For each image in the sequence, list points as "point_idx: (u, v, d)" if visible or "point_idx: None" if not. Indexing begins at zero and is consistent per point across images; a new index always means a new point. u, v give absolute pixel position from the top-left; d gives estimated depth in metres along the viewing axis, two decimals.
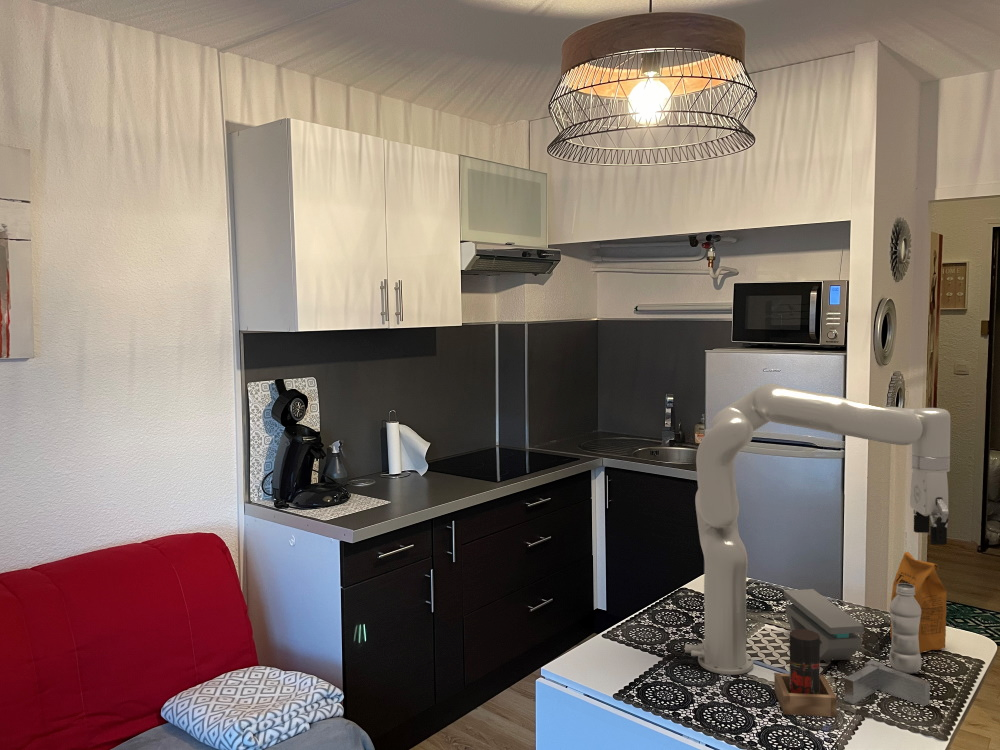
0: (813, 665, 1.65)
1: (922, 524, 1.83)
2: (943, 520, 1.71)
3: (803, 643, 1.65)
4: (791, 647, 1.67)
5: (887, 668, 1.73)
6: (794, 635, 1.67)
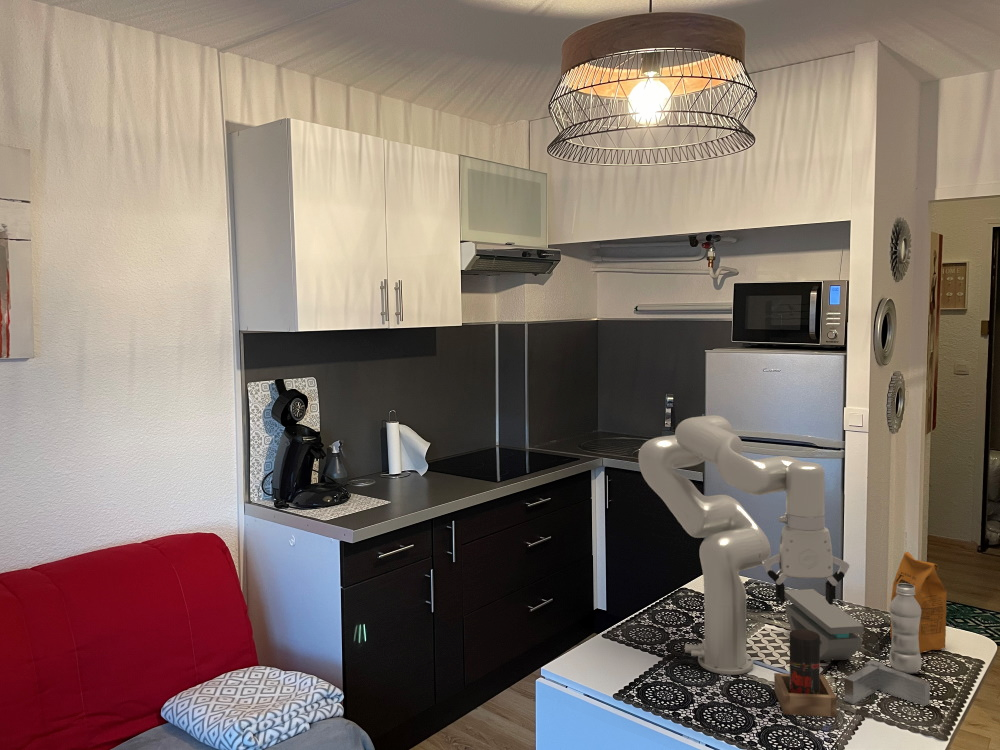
0: (813, 665, 1.65)
1: None
2: None
3: (803, 643, 1.65)
4: (791, 647, 1.67)
5: (887, 668, 1.73)
6: (794, 635, 1.67)
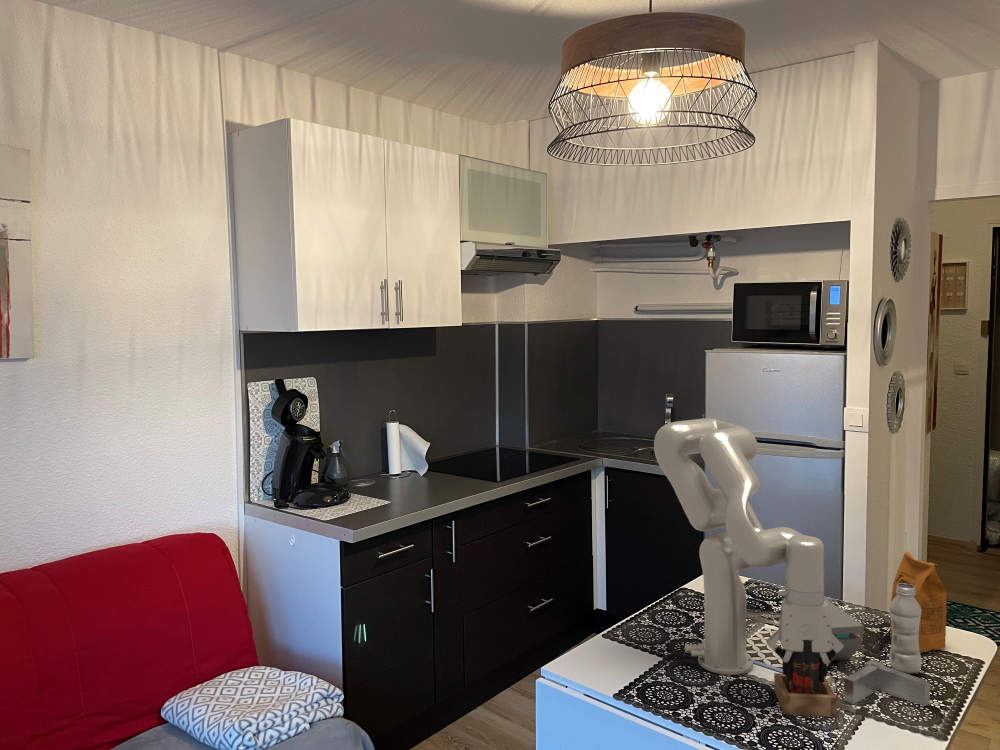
0: (813, 665, 1.65)
1: None
2: None
3: (803, 643, 1.65)
4: None
5: (887, 668, 1.73)
6: None
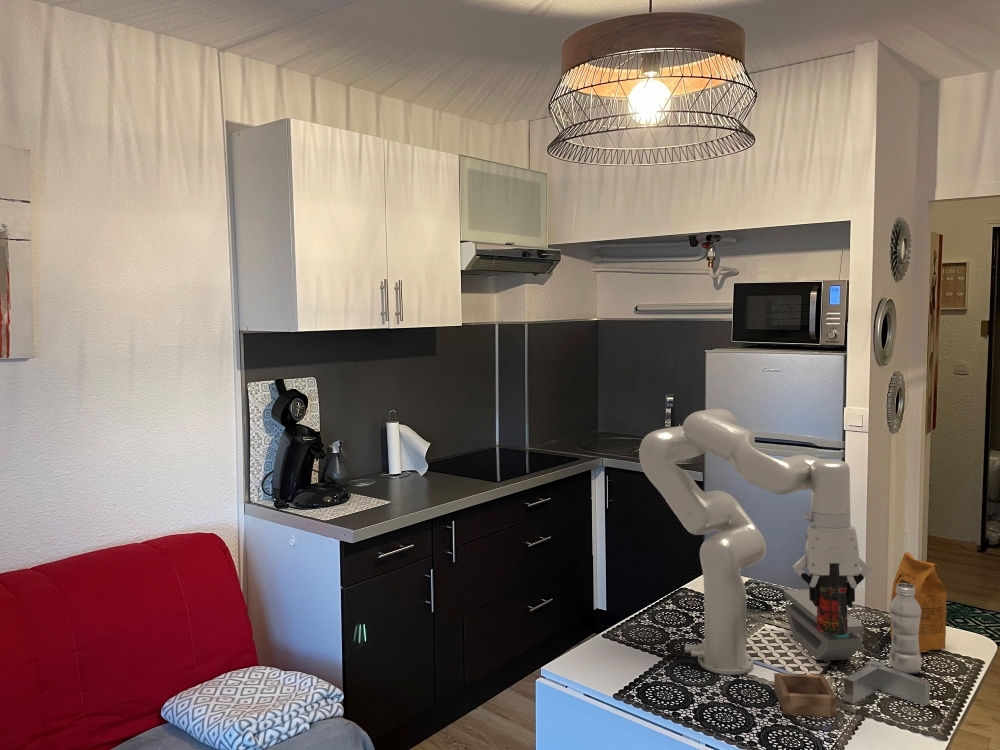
0: (841, 590, 1.63)
1: None
2: None
3: None
4: None
5: (887, 668, 1.73)
6: None
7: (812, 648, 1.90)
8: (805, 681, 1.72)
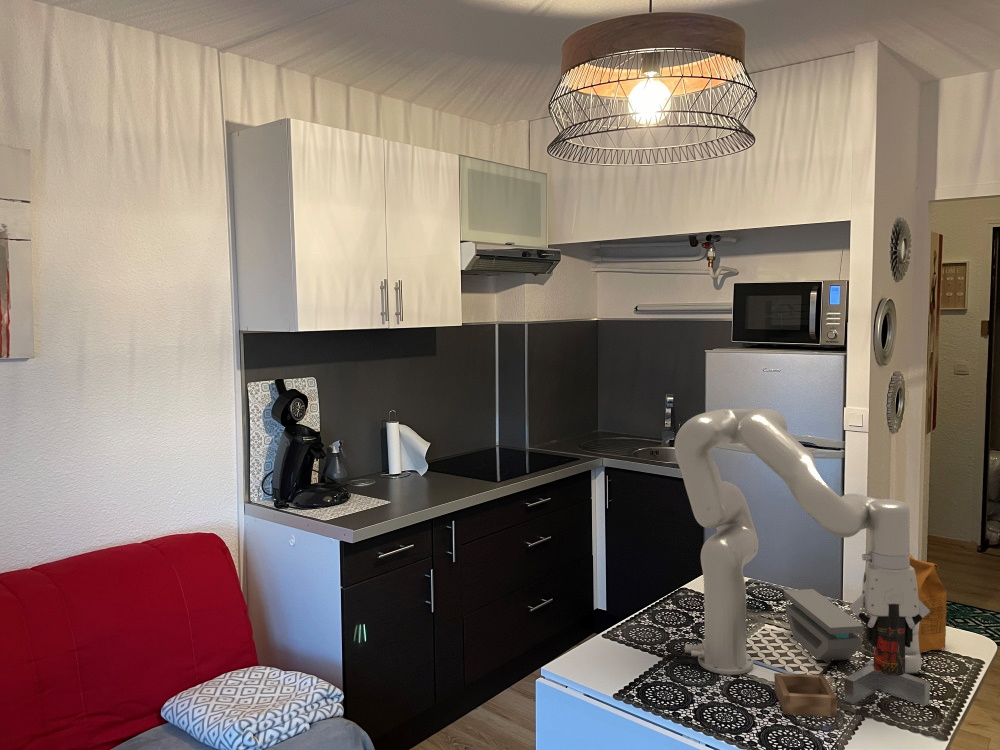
0: (900, 630, 1.63)
1: None
2: None
3: (889, 608, 1.62)
4: None
5: None
6: None
7: (812, 648, 1.90)
8: (805, 681, 1.72)
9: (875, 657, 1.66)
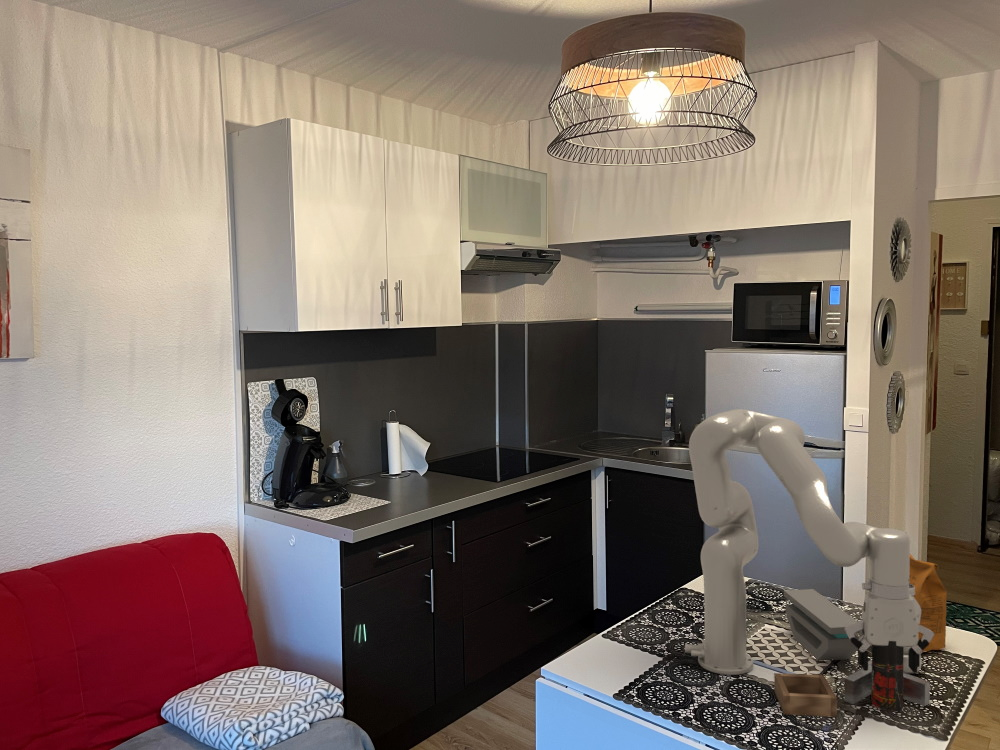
0: (898, 667, 1.63)
1: None
2: None
3: None
4: (874, 648, 1.66)
5: None
6: None
7: (812, 648, 1.90)
8: (805, 681, 1.72)
9: (873, 692, 1.67)
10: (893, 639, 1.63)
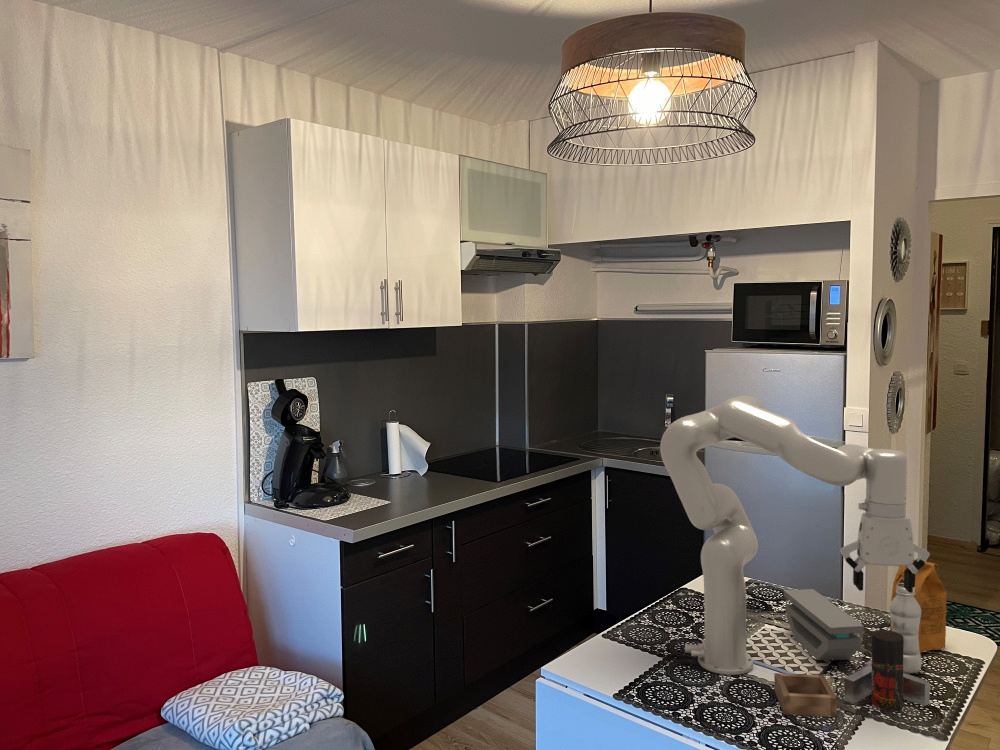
0: (898, 666, 1.63)
1: None
2: None
3: (887, 644, 1.63)
4: (874, 648, 1.66)
5: None
6: (877, 635, 1.66)
7: (812, 648, 1.90)
8: (805, 681, 1.72)
9: (873, 692, 1.67)
10: (889, 558, 1.63)
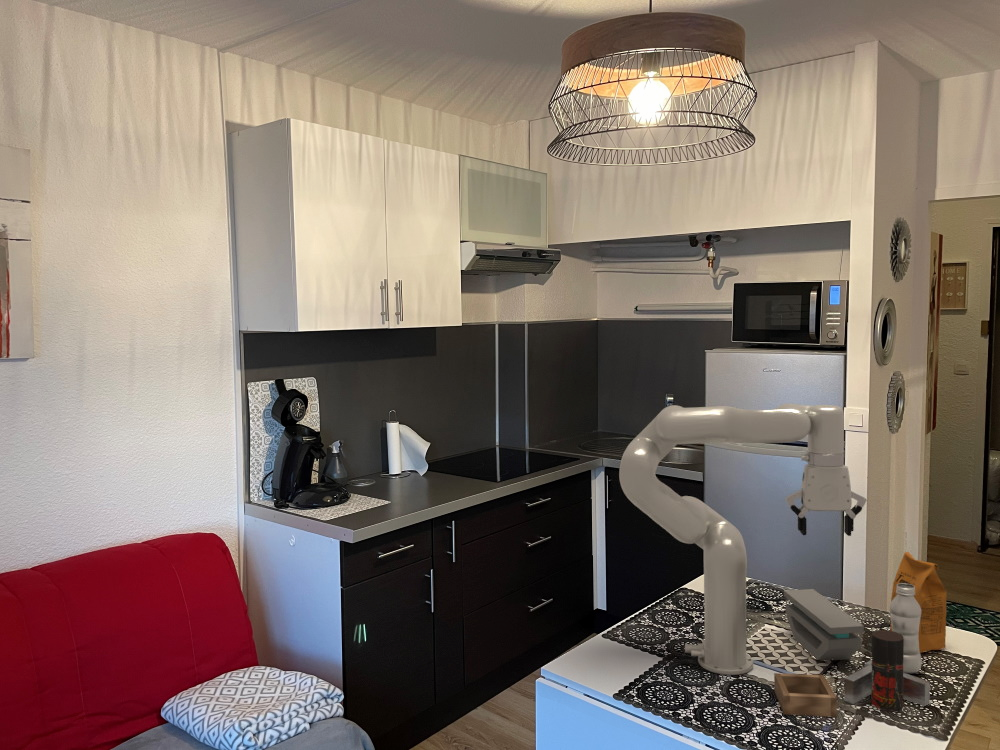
0: (898, 666, 1.63)
1: None
2: None
3: (887, 644, 1.63)
4: (874, 648, 1.66)
5: None
6: (877, 635, 1.66)
7: (812, 648, 1.90)
8: (805, 681, 1.72)
9: (873, 692, 1.67)
10: (828, 504, 1.77)
